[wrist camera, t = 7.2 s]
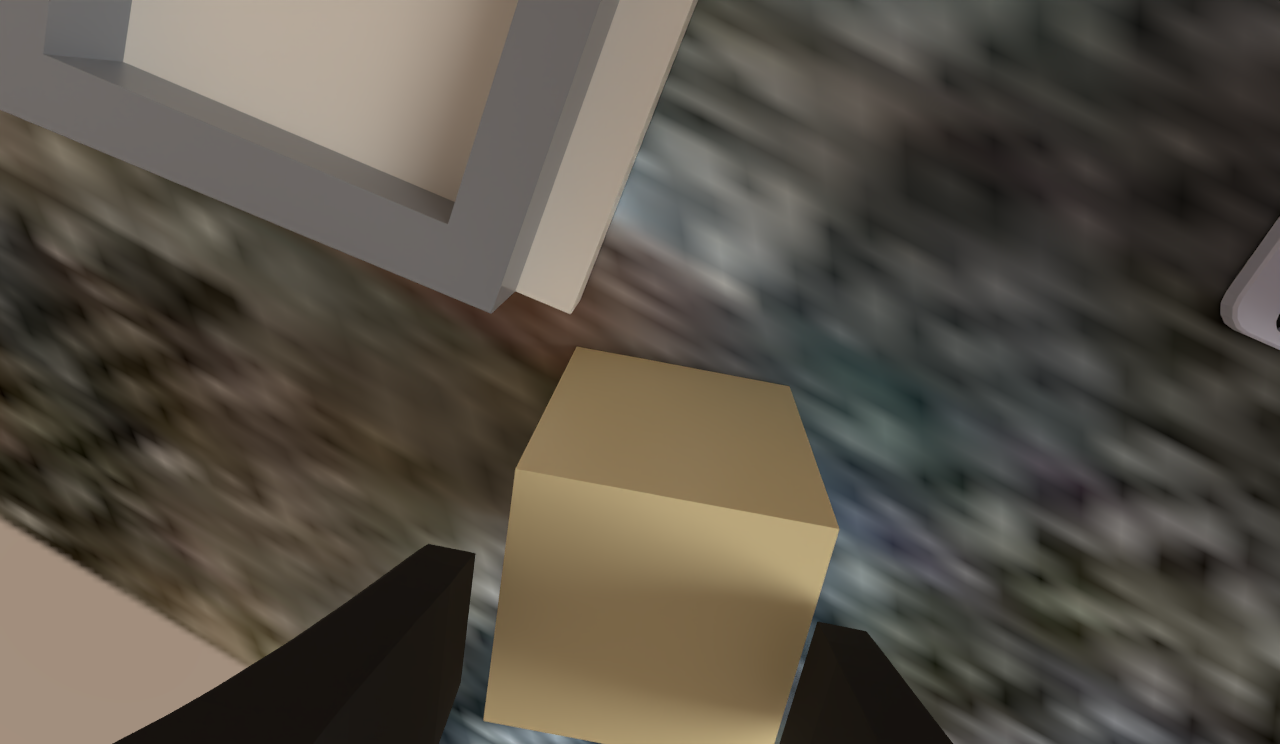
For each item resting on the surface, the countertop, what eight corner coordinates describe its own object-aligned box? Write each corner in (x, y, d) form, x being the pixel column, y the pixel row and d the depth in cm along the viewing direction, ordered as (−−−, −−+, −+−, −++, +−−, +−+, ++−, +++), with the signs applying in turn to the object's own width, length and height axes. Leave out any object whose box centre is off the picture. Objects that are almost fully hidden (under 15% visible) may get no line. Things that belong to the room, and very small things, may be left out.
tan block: (789, 386, 14) (838, 528, 9) (742, 566, 15) (764, 774, 10) (576, 346, 14) (515, 468, 9) (549, 530, 15) (483, 721, 10)
